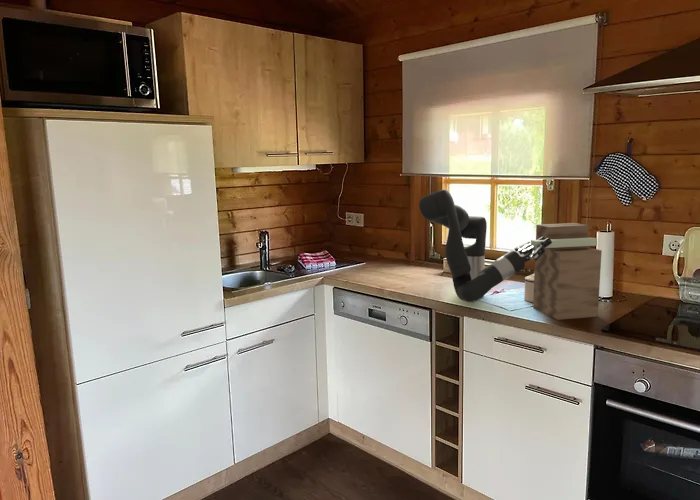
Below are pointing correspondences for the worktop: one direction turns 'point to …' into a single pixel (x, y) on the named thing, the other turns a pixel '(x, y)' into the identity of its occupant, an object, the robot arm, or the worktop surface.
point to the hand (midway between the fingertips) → (547, 239)
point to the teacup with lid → (529, 288)
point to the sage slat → (568, 242)
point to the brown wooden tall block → (567, 274)
